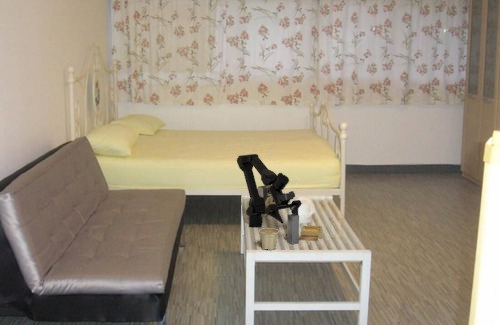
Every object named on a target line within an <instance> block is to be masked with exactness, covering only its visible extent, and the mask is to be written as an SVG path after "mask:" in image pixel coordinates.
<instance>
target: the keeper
mask: <svg viewBox="0 0 500 325" xmlns="http://www.w3.org/2000/svg"><path fill="white" fill-rule="evenodd" d="M301 226H302V227H301V237H318V240H322V239H323V226H322V225H301Z"/></svg>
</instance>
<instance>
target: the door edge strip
mask: <svg viewBox="0 0 500 325" xmlns="http://www.w3.org/2000/svg"><path fill="white" fill-rule="evenodd" d="M284 240H286V241H287V235H285V237H284ZM299 241H316V242H317V241H319V239H318V237H302V236H299Z"/></svg>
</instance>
